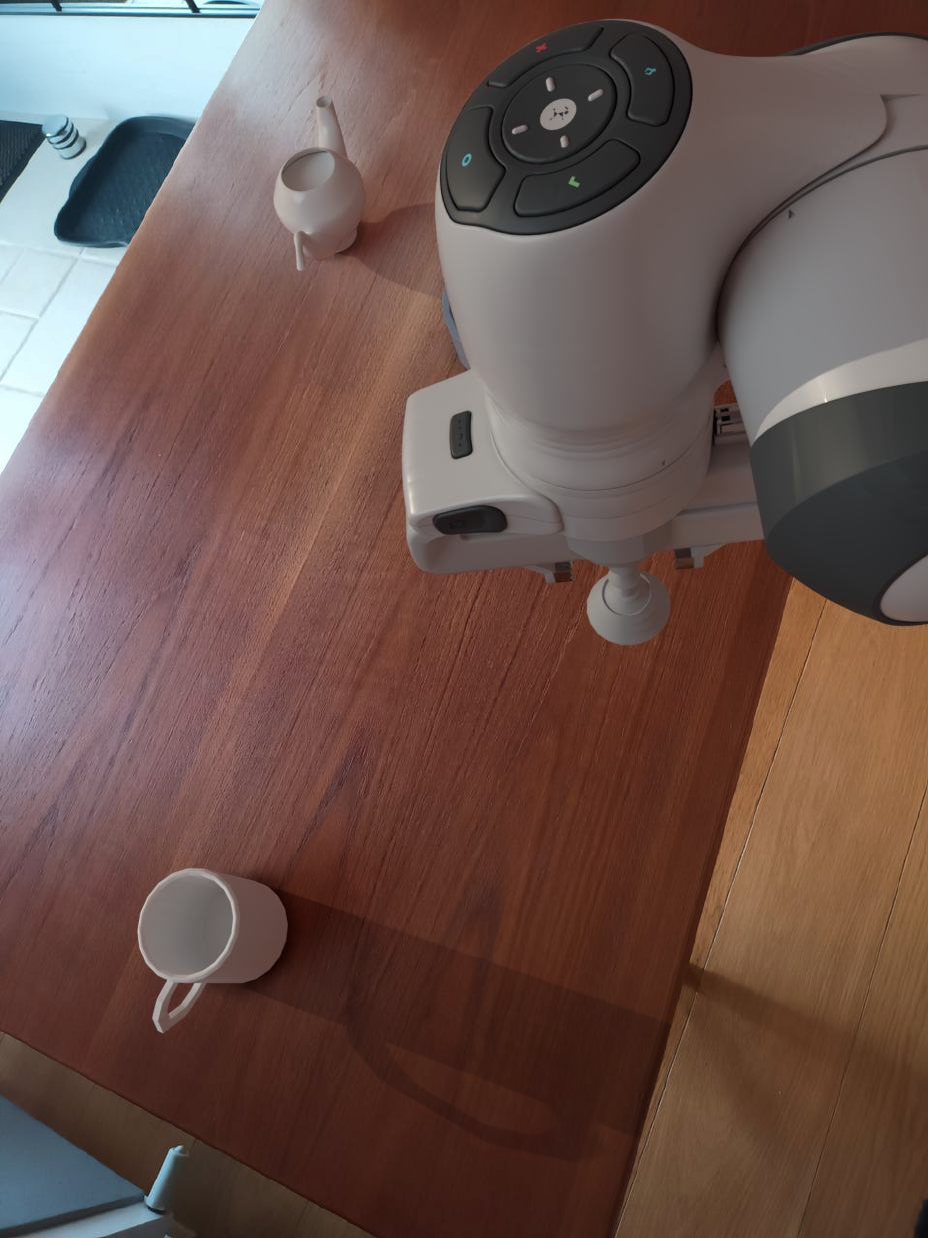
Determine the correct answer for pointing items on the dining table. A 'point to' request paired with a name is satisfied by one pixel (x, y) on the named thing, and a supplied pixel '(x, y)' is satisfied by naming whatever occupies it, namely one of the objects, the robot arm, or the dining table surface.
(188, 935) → the mug
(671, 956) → the dining table surface
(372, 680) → the dining table surface
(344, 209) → the teapot
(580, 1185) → the dining table surface
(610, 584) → the chalice
